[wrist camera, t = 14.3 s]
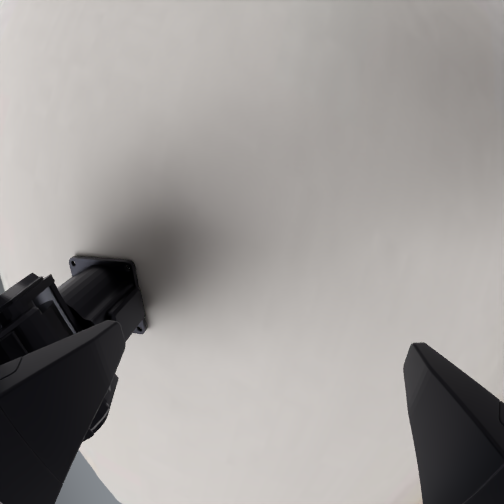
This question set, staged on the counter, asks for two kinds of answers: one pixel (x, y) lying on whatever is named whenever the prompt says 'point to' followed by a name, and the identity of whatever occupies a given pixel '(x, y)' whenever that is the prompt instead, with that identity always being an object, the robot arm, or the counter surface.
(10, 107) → the counter surface
